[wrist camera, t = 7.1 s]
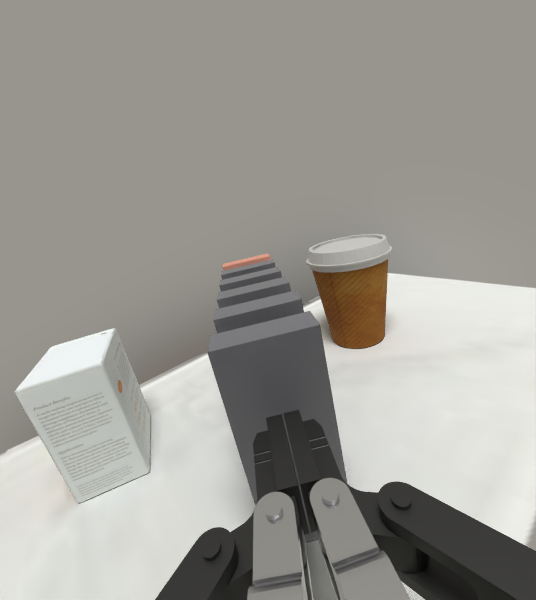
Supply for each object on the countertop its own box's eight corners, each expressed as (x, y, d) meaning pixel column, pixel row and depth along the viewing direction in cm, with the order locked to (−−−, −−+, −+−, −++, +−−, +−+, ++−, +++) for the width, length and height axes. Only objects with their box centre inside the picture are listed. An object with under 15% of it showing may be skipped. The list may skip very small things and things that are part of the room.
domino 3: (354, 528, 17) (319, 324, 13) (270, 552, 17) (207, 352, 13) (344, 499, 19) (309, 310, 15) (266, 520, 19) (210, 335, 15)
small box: (95, 438, 30) (49, 345, 27) (152, 416, 31) (115, 325, 28) (75, 507, 23) (9, 391, 19) (151, 474, 24) (101, 361, 21)
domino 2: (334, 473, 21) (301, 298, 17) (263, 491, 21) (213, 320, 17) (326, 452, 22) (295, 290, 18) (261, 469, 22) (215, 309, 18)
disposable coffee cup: (364, 314, 44) (354, 232, 40) (417, 336, 35) (411, 234, 31) (307, 336, 41) (291, 250, 37) (349, 366, 32) (333, 258, 29)
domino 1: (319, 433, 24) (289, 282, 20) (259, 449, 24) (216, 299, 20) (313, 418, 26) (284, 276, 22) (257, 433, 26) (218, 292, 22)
